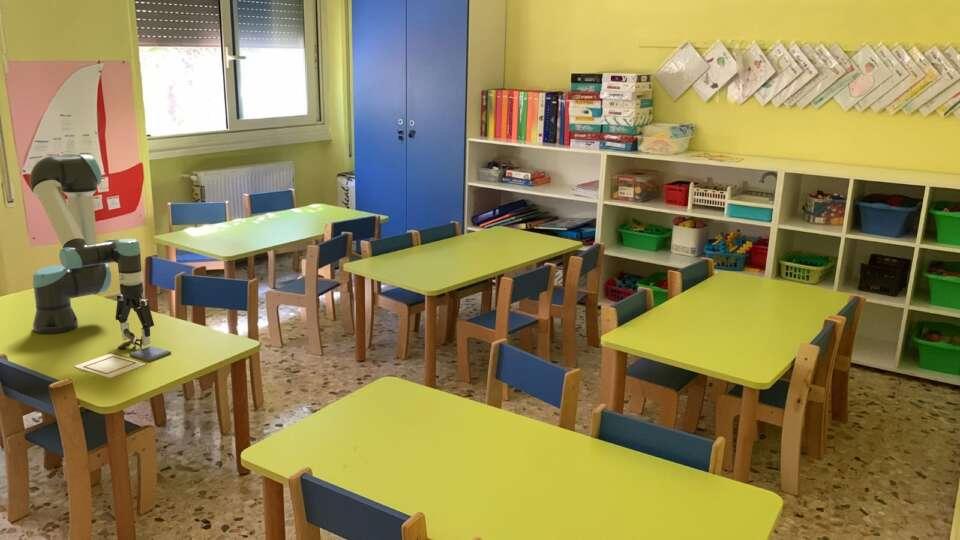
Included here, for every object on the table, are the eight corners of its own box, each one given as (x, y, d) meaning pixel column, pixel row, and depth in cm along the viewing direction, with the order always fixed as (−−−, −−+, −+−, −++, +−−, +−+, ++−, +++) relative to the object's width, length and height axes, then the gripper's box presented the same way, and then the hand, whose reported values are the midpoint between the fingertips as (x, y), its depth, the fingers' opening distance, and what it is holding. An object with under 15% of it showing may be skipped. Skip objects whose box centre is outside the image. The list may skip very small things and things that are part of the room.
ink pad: (129, 356, 275) (129, 352, 275) (151, 348, 283) (150, 345, 282) (149, 361, 271) (149, 358, 270) (170, 353, 278) (170, 350, 278)
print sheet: (73, 367, 264) (73, 365, 264) (110, 354, 276) (110, 353, 276) (110, 378, 256) (109, 376, 256) (145, 364, 268) (145, 363, 268)
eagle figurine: (149, 340, 288) (125, 334, 288) (146, 328, 282) (121, 323, 282) (139, 356, 282) (115, 351, 283) (136, 345, 277) (111, 339, 277)
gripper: (100, 280, 281) (106, 339, 287) (144, 290, 271) (149, 350, 277) (118, 275, 288) (124, 333, 293) (162, 285, 278) (166, 344, 283)
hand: (136, 342), depth 285 cm, fingers closed on eagle figurine, 10 cm apart
